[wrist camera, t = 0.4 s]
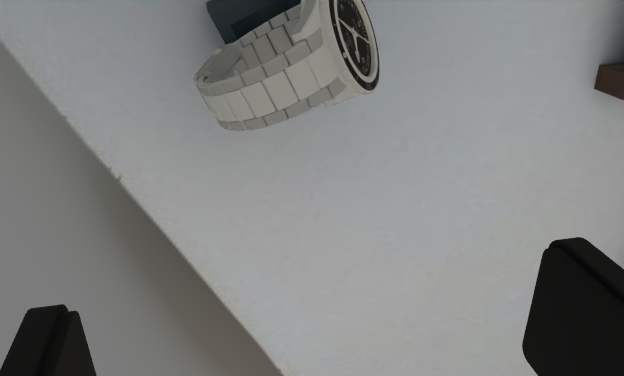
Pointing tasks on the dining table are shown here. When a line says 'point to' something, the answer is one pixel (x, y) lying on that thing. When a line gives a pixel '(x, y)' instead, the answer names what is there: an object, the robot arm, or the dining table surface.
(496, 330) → the dining table surface
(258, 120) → the watch
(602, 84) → the shelf
